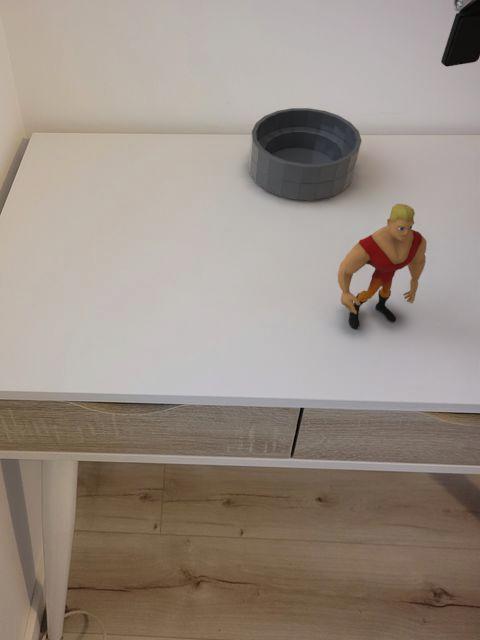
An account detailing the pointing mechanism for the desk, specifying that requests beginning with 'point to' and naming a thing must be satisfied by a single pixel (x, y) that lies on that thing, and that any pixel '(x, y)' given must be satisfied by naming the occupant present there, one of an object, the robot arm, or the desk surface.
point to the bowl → (303, 153)
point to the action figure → (384, 262)
